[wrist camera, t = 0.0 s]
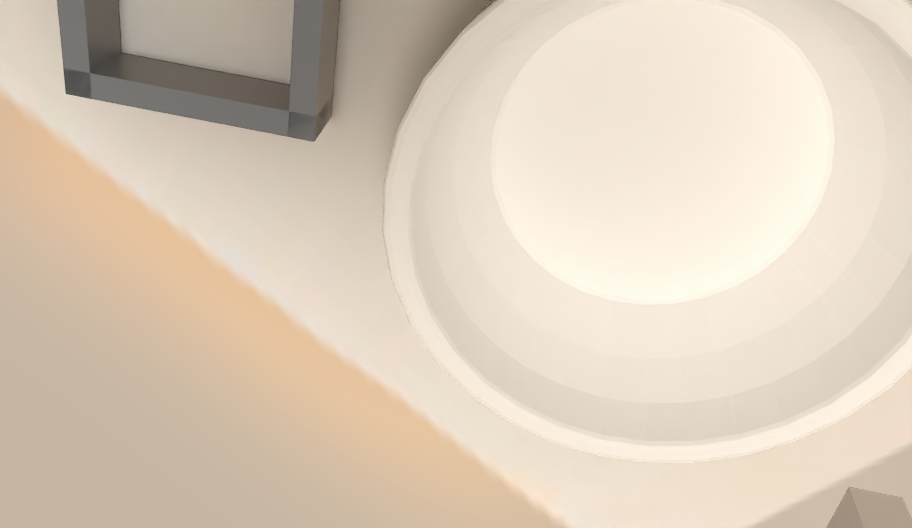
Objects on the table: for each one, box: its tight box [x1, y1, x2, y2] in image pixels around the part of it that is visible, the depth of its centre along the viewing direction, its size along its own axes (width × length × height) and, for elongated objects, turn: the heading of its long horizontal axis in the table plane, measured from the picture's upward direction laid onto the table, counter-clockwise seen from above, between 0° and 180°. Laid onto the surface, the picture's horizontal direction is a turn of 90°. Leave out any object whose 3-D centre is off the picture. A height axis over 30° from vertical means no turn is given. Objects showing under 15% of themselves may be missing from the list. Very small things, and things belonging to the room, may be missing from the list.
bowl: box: [382, 0, 912, 463], centre depth 36 cm, size 22×22×8 cm
